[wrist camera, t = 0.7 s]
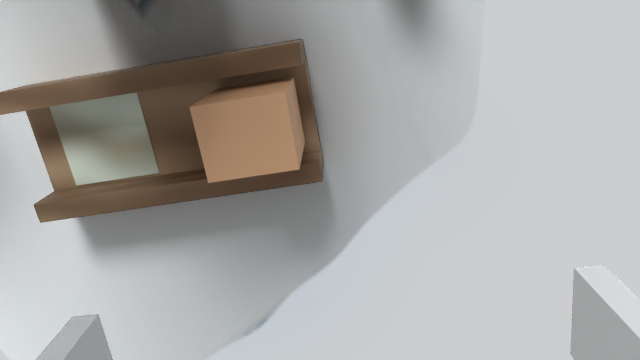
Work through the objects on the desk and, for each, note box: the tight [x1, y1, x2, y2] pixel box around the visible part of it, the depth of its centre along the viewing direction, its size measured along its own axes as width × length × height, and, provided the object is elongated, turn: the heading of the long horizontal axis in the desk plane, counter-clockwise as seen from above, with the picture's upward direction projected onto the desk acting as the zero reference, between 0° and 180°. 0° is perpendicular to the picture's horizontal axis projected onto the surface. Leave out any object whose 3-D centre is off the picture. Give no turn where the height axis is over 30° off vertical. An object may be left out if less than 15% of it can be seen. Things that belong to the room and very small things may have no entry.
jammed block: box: [189, 77, 305, 183], centre depth 34 cm, size 5×6×7 cm
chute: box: [0, 39, 323, 223], centre depth 38 cm, size 10×22×4 cm, turn 99°
